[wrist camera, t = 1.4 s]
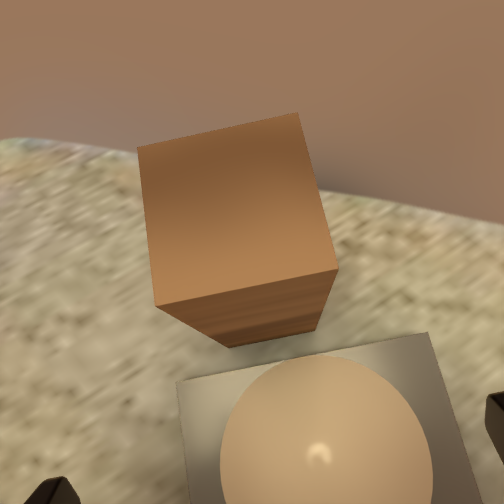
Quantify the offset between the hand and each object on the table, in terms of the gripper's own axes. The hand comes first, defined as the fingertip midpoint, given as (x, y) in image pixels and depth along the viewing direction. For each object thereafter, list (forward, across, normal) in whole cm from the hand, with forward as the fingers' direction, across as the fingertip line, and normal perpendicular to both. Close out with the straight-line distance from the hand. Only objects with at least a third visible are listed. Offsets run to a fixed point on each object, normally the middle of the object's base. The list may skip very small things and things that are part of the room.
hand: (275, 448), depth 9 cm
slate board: (+5, -1, +12) cm, 13 cm away
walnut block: (+13, 0, +4) cm, 13 cm away
